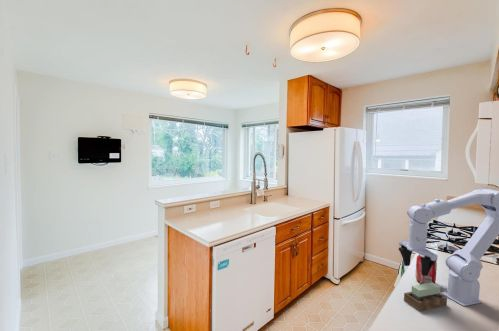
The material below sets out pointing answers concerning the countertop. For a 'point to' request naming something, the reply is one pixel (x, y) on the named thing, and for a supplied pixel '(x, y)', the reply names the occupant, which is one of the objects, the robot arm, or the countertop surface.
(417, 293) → the green toy bench
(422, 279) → the soda can
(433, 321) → the countertop surface
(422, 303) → the post base
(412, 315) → the countertop surface
